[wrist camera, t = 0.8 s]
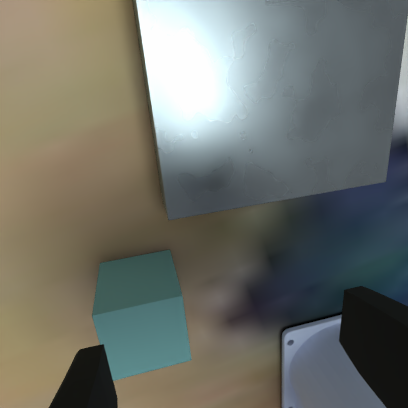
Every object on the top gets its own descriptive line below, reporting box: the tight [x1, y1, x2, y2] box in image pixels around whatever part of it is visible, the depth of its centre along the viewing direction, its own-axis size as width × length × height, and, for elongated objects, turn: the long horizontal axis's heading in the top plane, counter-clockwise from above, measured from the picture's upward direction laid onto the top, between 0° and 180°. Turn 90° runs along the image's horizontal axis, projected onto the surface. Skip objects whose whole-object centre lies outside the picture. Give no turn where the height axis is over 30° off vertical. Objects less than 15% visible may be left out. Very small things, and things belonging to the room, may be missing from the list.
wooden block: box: [92, 250, 191, 381], centre depth 17 cm, size 4×4×4 cm
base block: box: [132, 0, 408, 220], centre depth 15 cm, size 12×12×2 cm
